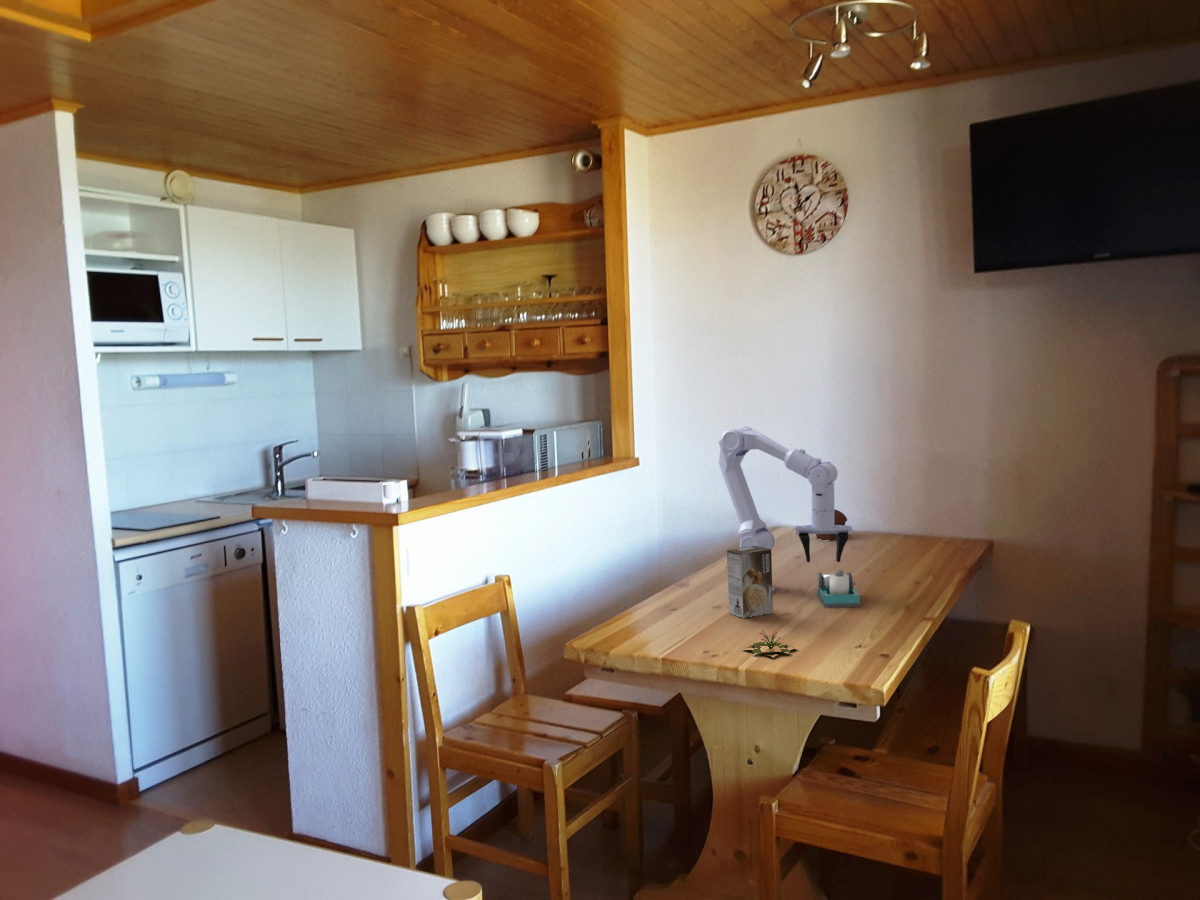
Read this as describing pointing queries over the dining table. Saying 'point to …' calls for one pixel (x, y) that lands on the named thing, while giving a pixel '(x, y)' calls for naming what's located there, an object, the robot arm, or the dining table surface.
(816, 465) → the robot arm
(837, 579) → the white capped bottle
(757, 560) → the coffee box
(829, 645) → the dining table surface
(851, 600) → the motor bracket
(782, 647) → the lily flower
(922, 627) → the dining table surface
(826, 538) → the muffin
